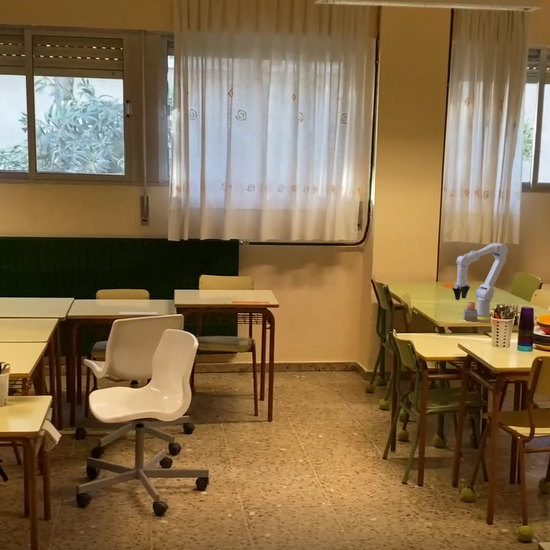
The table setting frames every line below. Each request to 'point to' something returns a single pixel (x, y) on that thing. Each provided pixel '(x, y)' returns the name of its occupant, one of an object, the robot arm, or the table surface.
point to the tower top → (470, 313)
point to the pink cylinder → (470, 306)
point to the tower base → (470, 318)
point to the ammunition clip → (516, 313)
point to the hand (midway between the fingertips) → (460, 299)
